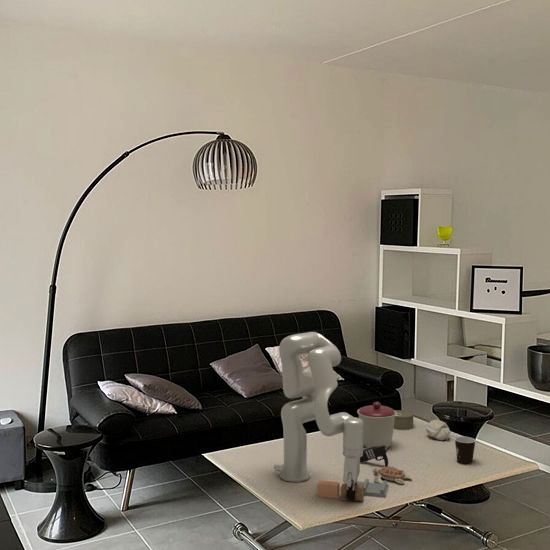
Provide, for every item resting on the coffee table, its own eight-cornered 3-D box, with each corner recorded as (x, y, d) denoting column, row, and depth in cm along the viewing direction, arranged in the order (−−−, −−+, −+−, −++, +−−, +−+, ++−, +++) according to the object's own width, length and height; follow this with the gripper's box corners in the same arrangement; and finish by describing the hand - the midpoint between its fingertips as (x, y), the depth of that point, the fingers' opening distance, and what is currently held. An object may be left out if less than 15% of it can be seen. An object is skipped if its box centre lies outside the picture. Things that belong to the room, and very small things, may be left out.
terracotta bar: (316, 496, 274) (317, 483, 274) (319, 492, 278) (319, 480, 278) (337, 498, 272) (337, 485, 272) (339, 494, 276) (339, 482, 275)
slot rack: (341, 492, 277) (341, 486, 277) (346, 482, 288) (346, 476, 287) (385, 497, 272) (385, 490, 272) (388, 486, 283) (388, 480, 283)
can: (418, 428, 360) (418, 414, 359) (400, 431, 354) (400, 418, 353) (402, 422, 370) (403, 409, 369) (384, 425, 364) (384, 412, 363)
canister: (377, 455, 319) (378, 409, 317) (348, 445, 333) (349, 401, 331) (404, 447, 330) (404, 402, 328) (375, 437, 344) (375, 395, 342)
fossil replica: (446, 443, 336) (452, 439, 344) (448, 426, 335) (455, 422, 344) (421, 437, 342) (429, 433, 351) (424, 420, 342) (431, 417, 350)
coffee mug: (474, 466, 305) (474, 443, 304) (453, 464, 308) (454, 441, 307) (475, 457, 316) (476, 435, 315) (455, 455, 319) (456, 433, 318)
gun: (363, 474, 312) (353, 452, 314) (394, 463, 304) (384, 441, 306) (360, 476, 310) (351, 454, 311) (392, 465, 302) (382, 443, 303)
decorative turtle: (384, 468, 304) (384, 457, 304) (419, 477, 294) (419, 465, 293) (361, 480, 290) (361, 468, 290) (397, 490, 280) (397, 478, 280)
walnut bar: (341, 500, 270) (340, 487, 269) (343, 496, 274) (342, 483, 273) (362, 501, 268) (361, 488, 267) (364, 496, 271) (363, 484, 271)
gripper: (347, 442, 278) (346, 487, 280) (338, 457, 262) (337, 505, 264) (366, 444, 276) (365, 490, 278) (359, 459, 260) (358, 507, 262)
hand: (351, 496), depth 271 cm, fingers closed on walnut bar, 3 cm apart
